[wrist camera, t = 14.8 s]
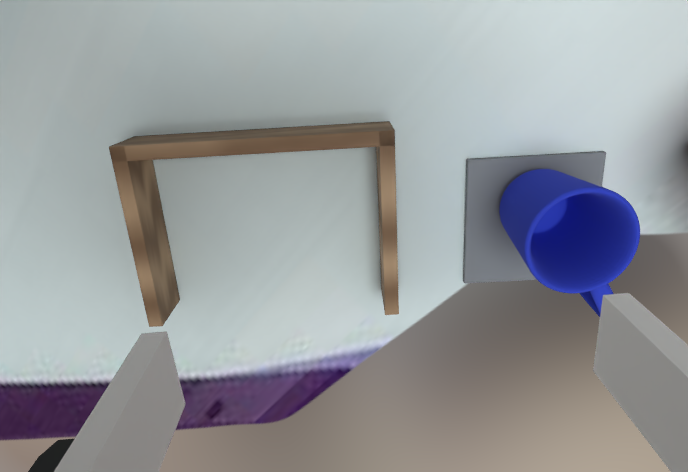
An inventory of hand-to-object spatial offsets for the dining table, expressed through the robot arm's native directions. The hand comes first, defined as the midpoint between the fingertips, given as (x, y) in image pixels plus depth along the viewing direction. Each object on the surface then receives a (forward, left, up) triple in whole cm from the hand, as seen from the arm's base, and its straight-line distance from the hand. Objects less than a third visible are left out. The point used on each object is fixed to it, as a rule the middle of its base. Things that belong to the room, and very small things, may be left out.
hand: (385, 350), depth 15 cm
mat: (+7, +15, -31) cm, 35 cm away
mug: (+7, +16, -31) cm, 35 cm away
